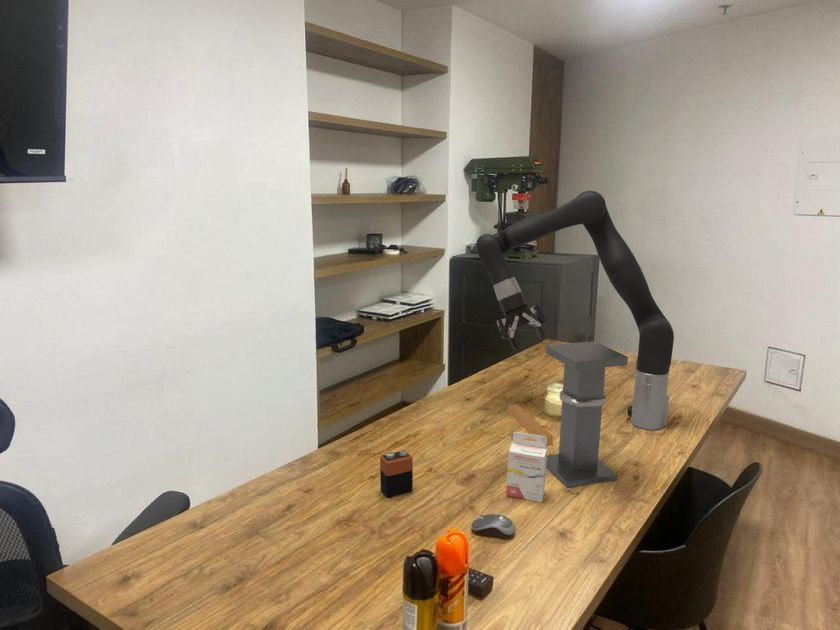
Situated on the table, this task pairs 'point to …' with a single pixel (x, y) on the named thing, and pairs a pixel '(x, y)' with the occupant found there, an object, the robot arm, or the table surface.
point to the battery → (396, 473)
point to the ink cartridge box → (527, 467)
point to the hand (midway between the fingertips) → (529, 344)
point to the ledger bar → (529, 423)
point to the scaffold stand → (582, 412)
